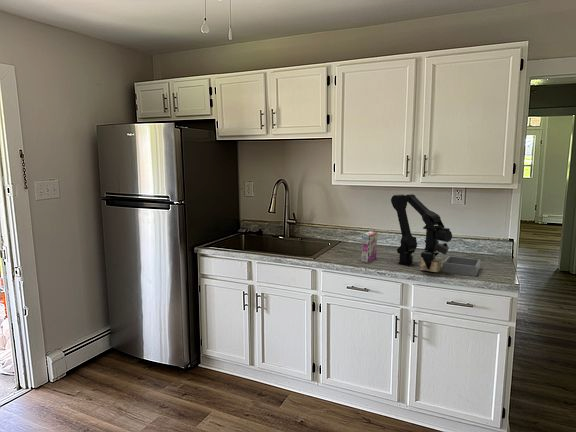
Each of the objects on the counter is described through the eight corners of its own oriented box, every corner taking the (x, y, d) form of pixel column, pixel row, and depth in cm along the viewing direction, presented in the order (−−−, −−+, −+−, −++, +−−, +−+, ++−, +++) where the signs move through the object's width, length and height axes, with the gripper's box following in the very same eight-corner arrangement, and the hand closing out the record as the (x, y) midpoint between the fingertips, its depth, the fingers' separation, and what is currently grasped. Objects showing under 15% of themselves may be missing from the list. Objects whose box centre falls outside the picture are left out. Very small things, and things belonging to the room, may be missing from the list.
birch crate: (419, 269, 214) (420, 260, 213) (422, 266, 219) (423, 257, 218) (437, 272, 209) (438, 262, 208) (440, 269, 215) (440, 259, 214)
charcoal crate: (442, 271, 213) (443, 262, 212) (448, 264, 226) (448, 255, 226) (476, 276, 205) (476, 266, 204) (479, 268, 218) (480, 259, 218)
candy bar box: (368, 263, 230) (369, 235, 227) (360, 262, 233) (361, 234, 230) (376, 259, 239) (377, 231, 236) (368, 257, 242) (369, 230, 239)
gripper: (444, 243, 200) (442, 274, 202) (451, 236, 215) (449, 265, 218) (421, 241, 205) (419, 271, 208) (429, 234, 221) (428, 262, 223)
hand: (430, 267), depth 214 cm, fingers closed on birch crate, 6 cm apart
